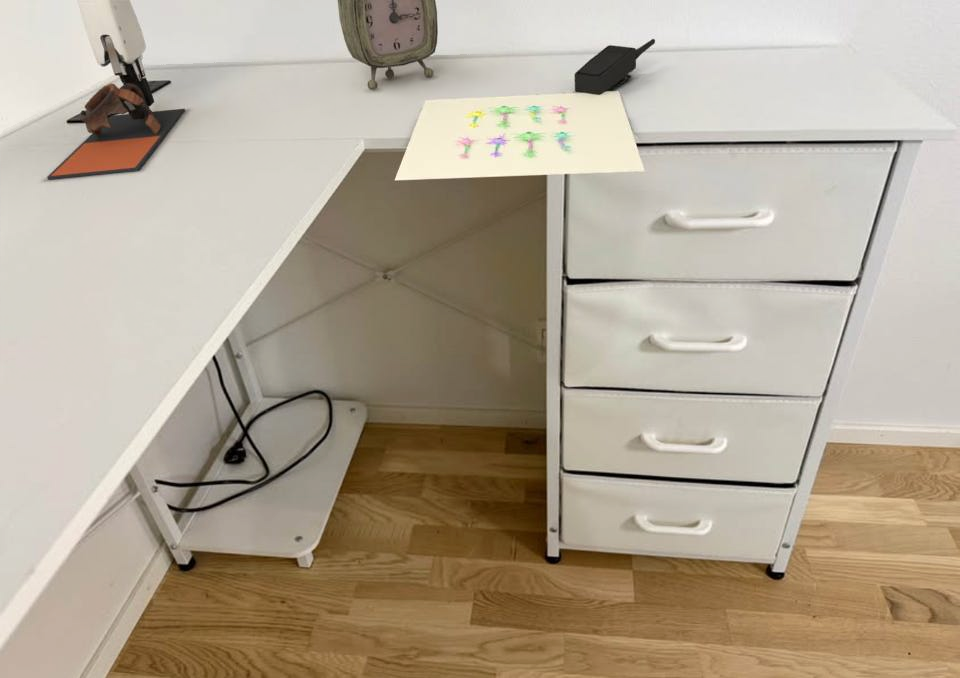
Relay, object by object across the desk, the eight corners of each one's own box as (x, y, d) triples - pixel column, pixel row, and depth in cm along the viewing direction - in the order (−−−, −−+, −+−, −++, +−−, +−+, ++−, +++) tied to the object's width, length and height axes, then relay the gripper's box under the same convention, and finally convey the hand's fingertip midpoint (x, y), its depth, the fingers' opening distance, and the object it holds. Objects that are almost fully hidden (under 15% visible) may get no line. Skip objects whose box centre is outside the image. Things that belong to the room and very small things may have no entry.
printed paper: (425, 102, 106) (424, 92, 106) (618, 93, 104) (619, 83, 103) (394, 182, 83) (393, 171, 82) (644, 173, 80) (645, 161, 79)
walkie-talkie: (562, 81, 105) (623, 39, 116) (587, 112, 106) (645, 67, 117) (586, 55, 100) (647, 13, 111) (612, 88, 101) (670, 44, 112)
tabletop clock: (366, 95, 113) (338, -80, 98) (347, 83, 120) (318, -82, 105) (443, 78, 119) (427, -91, 104) (420, 67, 125) (402, -92, 110)
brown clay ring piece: (158, 143, 100) (110, 100, 95) (114, 172, 103) (65, 133, 98) (174, 98, 108) (130, 57, 102) (132, 127, 111) (87, 88, 105)
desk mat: (48, 179, 91) (46, 176, 91) (111, 118, 112) (110, 115, 112) (138, 170, 92) (137, 167, 91) (185, 110, 113) (184, 108, 112)
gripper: (89, -26, 105) (133, 94, 116) (51, -10, 93) (105, 123, 104) (138, -31, 105) (178, 89, 116) (107, -15, 93) (154, 117, 104)
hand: (143, 105), depth 110 cm, fingers closed
